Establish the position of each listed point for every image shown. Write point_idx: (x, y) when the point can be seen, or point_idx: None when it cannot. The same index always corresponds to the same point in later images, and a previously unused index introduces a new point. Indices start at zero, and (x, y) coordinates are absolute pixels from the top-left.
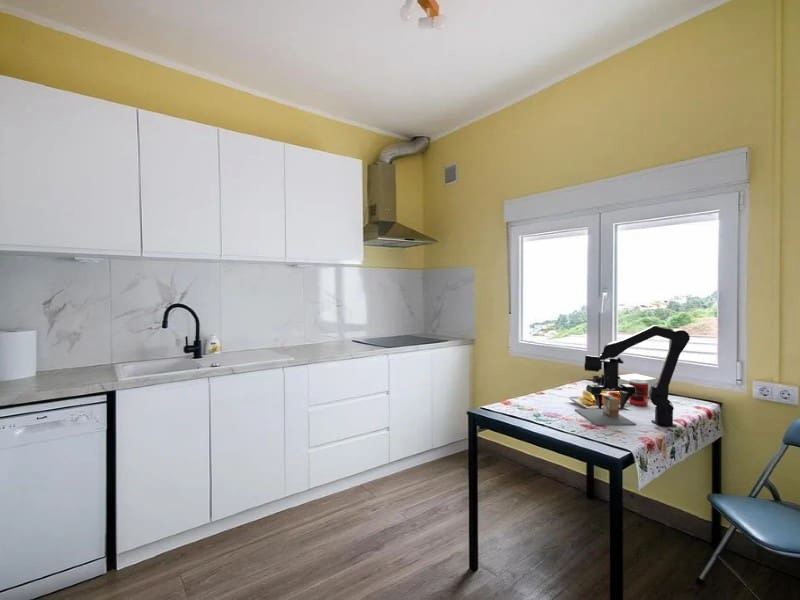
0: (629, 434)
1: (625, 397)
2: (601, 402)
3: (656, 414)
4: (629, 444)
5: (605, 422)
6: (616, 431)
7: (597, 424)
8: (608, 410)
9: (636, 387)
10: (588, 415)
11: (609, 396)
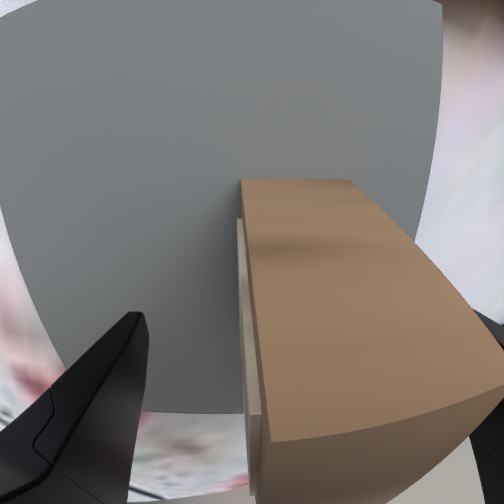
0: (224, 463)
1: (482, 478)
2: (128, 454)
3: None
4: (179, 490)
5: (154, 396)
6: (179, 448)
7: None
8: (241, 359)
9: None
10: (47, 250)
11: (386, 466)
